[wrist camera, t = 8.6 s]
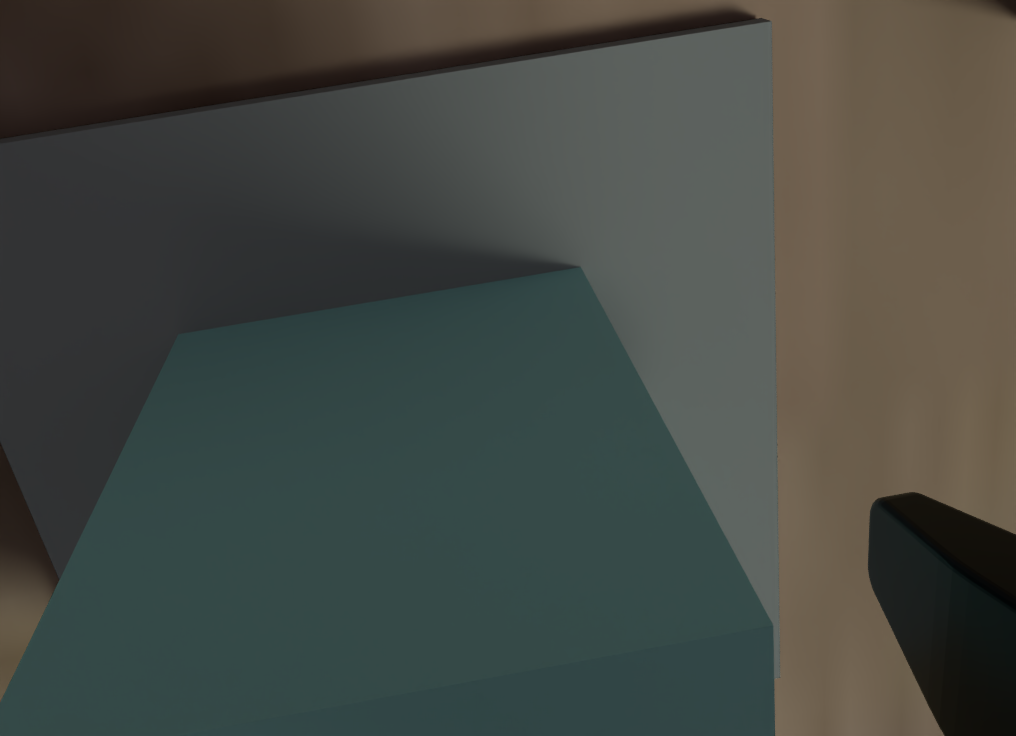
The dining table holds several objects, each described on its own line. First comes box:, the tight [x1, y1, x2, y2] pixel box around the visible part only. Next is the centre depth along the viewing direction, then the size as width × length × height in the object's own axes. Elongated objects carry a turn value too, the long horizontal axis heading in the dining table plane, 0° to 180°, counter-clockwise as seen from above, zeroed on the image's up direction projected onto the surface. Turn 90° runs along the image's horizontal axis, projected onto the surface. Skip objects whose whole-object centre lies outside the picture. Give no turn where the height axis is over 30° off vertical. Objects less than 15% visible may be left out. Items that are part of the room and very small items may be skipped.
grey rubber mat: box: [0, 18, 780, 679], centre depth 12 cm, size 9×9×1 cm
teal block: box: [0, 267, 775, 736], centre depth 9 cm, size 4×4×6 cm
